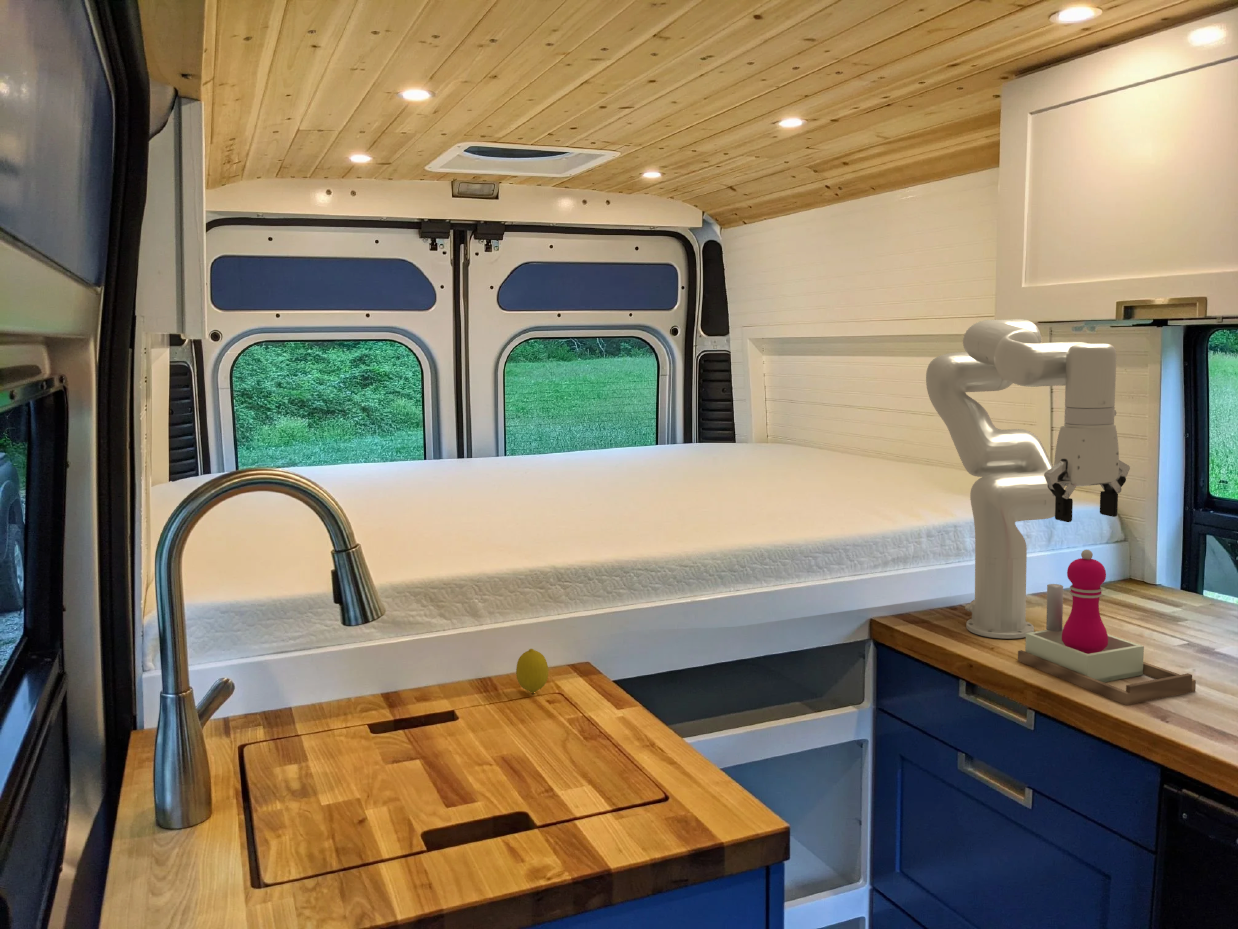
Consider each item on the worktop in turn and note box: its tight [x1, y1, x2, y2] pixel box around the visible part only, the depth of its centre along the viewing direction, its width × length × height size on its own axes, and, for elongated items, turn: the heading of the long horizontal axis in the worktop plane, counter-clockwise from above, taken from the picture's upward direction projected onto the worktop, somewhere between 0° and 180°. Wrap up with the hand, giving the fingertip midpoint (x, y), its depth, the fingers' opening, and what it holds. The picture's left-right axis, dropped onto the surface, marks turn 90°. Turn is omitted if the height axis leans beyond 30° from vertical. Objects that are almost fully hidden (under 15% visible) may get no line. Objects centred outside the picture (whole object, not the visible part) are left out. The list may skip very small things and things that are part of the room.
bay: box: [1017, 649, 1197, 706], centre depth 163 cm, size 23×14×4 cm, turn 19°
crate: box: [1024, 583, 1145, 683], centre depth 167 cm, size 15×12×13 cm
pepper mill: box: [1062, 549, 1108, 654], centre depth 166 cm, size 7×7×20 cm
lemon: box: [515, 648, 549, 694], centre depth 167 cm, size 6×6×8 cm
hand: (1086, 518), depth 164 cm, fingers open, 9 cm apart
